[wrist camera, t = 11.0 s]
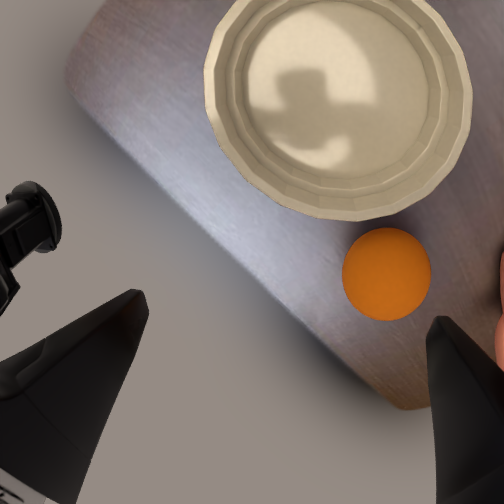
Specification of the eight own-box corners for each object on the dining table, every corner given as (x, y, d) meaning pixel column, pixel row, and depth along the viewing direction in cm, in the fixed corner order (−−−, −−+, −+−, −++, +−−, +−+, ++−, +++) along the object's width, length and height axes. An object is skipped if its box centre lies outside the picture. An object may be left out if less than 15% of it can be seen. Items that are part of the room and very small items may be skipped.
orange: (335, 280, 23) (337, 337, 18) (344, 208, 20) (353, 255, 15) (407, 285, 22) (424, 341, 17) (425, 216, 19) (455, 263, 14)
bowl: (231, 186, 21) (212, 212, 17) (224, -9, 14) (200, -30, 10) (427, 201, 19) (450, 231, 15) (440, 8, 12) (470, -6, 8)
